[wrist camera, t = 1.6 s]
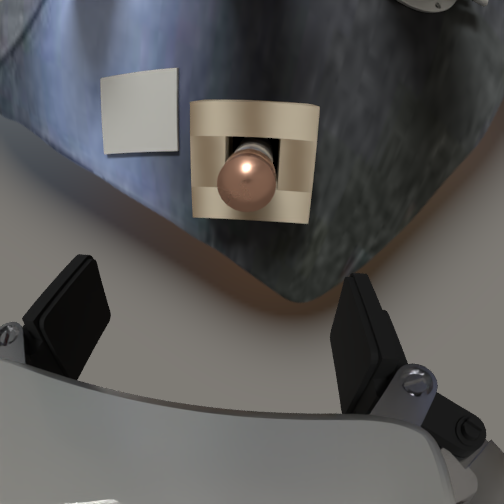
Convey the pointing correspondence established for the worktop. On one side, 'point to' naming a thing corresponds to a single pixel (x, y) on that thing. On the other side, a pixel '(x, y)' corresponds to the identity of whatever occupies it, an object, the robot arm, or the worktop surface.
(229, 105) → the birch eye block
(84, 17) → the worktop surface
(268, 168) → the copper capped bottle
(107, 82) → the white square plate
